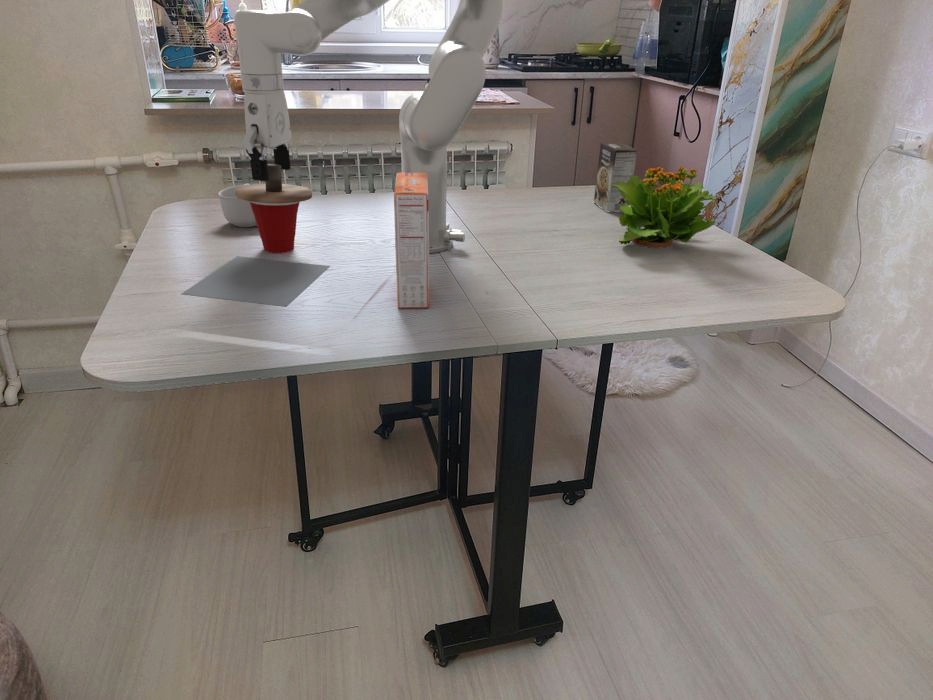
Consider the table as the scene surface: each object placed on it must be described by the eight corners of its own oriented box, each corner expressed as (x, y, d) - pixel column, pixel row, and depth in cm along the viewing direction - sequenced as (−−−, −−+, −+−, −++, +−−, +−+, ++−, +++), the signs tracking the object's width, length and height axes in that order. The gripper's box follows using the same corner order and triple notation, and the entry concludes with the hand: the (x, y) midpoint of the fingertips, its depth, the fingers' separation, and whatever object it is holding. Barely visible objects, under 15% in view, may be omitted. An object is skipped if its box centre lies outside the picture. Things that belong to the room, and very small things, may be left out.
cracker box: (397, 279, 131) (395, 171, 121) (428, 279, 131) (429, 171, 121) (395, 309, 118) (392, 191, 109) (429, 309, 119) (430, 192, 109)
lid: (323, 192, 142) (322, 163, 140) (293, 206, 129) (292, 174, 126) (257, 185, 145) (255, 157, 142) (220, 198, 131) (218, 166, 129)
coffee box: (592, 203, 183) (599, 142, 175) (614, 202, 184) (622, 141, 177) (606, 212, 175) (614, 149, 168) (628, 211, 177) (638, 149, 169)
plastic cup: (316, 248, 145) (312, 193, 139) (284, 264, 136) (278, 205, 130) (276, 240, 149) (270, 185, 143) (242, 254, 140) (234, 197, 134)
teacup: (263, 231, 154) (259, 196, 150) (216, 229, 154) (210, 195, 150) (279, 213, 166) (276, 181, 162) (235, 212, 166) (231, 179, 162)
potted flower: (583, 226, 164) (592, 153, 156) (670, 222, 170) (683, 151, 162) (630, 262, 143) (642, 180, 135) (727, 256, 149) (745, 176, 140)
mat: (330, 269, 134) (330, 266, 134) (286, 310, 117) (286, 306, 116) (237, 259, 137) (237, 256, 137) (182, 297, 120) (181, 293, 120)
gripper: (259, 90, 119) (270, 186, 127) (300, 79, 134) (307, 166, 142) (220, 87, 120) (233, 183, 128) (265, 77, 135) (274, 163, 143)
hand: (272, 174), depth 135 cm, fingers open, 9 cm apart
